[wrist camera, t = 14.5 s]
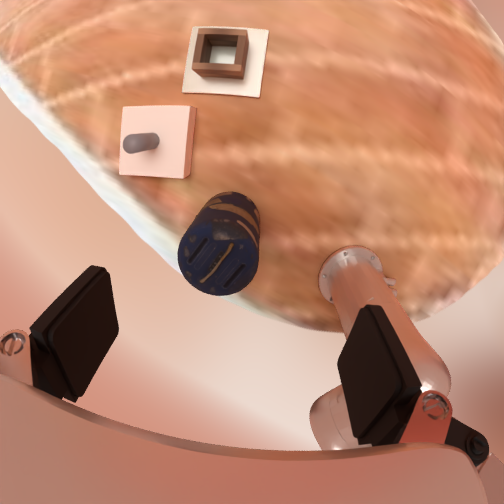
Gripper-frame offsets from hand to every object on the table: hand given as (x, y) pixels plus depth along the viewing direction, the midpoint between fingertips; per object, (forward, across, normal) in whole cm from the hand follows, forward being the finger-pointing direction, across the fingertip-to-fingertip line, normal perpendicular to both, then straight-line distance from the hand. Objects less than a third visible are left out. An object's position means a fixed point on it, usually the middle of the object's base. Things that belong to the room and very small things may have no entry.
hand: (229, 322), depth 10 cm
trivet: (+36, +7, -18) cm, 41 cm away
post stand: (+36, +16, -4) cm, 40 cm away
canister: (+36, +3, +8) cm, 37 cm away
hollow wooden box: (+35, +7, -18) cm, 40 cm away
